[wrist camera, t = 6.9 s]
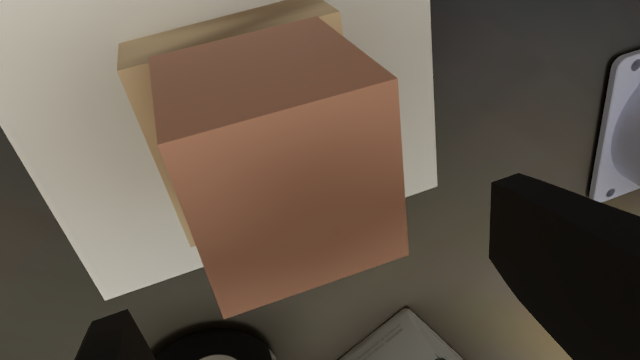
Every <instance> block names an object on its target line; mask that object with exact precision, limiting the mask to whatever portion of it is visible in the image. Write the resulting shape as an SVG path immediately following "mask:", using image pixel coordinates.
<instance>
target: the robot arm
mask: <svg viewBox="0 0 640 360" xmlns="http://www.w3.org/2000/svg"><path fill="white" fill-rule="evenodd" d="M639 188H640V50H636V51H633V52H630V53H627V54H624V55H621V56H619V57H618V58H617V59H616V60H615V61H614V62H613V64H612V66H611V71H610V77H609V82H608V88H607V94H606V100H605V106H604V111H603V117H602V123H601V129H600V135H599V141H598V146H597V152H596V158H595V164H594V170H593V175H592V181H591V187H590V193H589V198H587V197H584V196H582V195H579V194H576V193H574V192H571V191H568V190H566V189H563V188H560V187H557V186H555V185H552V184H549V183H546V182H544V181H541V180H538V179H535V178H532V177H529V176H526V175H523V174H519V173H518V174H515V175H512V176H509V177H506V178H503V179H500V180H497V181H495V182H492V183H491V213H490V242H489V259H490V260H491V262H492V263H493V264H494V266H495V267H496V269H497V270H498V272H499V273H500V275H501V276H502V278H503V279H504V281H505V282H506V283H507V285H508V286H509V288H510V289H511V290H512V292H513V293H514V294H515V296H516V297H517V299H518V300H519V301H520V302H521V303H522V304H523V305H524V306H525V308H526V309H527V310H528V311H529V312H530V313H531V314H532V315H533V317H534V318H535V319H536V320H537V321H538V322H539V323H540V324H541V325H542V326H543V328H544V329H545V330H546V331H547V332H548V333H549V334H550V335H551V336H552V337H553V338H554V340H555V341H556V342H557V343H558V344H559V345H560V346H561V347H562V348H563V349H564V350H565V352H566V353H567V354H568V355H569V356H570V357H571V358H572V359H573V360H640V217H639V216H637V215H634V214H631V213H628V212H625V211H623V210H620V209H617V208H614V207H611V206H609V205H606V204H603V203H602V202H604V201H607V200H610V199H612V198H615V197H618V196H620V195H623V194H626V193H629V192H631V191H634V190H637V189H639ZM75 360H156V358H155V356H154V355H153V353H152V351H151V349H150V348H149V346H148V344H147V342H146V341H145V339H144V337H143V335H142V334H141V332H140V330H139V328H138V327H137V325H136V323H135V321H134V319H133V318H132V316H131V314H130V312H129V311H128V309H127V310H124V311H121V312H118V313H115V314H112V315H109V316H107V317H104V318H101V319H98V320H95V321H92V323H91V325H90V326H89V328H88V330H87V333H86V335H85V337H84V339H83V341H82V344H81V346H80V348H79V351H78V353H77V355H76V357H75Z"/></svg>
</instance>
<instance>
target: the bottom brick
mask: <svg viewBox="0 0 640 360" xmlns="http://www.w3.org/2000/svg"><path fill="white" fill-rule="evenodd" d="M315 16H317V17H319V18H320V19H321V20H322V21H324V22H325V23H326V24H328V25H329V26H330V27H332V28H333V29H334V30H335V31H337V32H338V33H339V34H341V35H342V36H343V30H342V23H341V16H340V11H339V10H337V9H336V8H334V7H333V6H331V5H330V4H328V3H327V2H325V1H324V0H284V1H280V2H276V3H273V4H269V5H265V6H261V7H257V8H253V9H249V10H246V11H242V12H238V13H234V14H230V15H226V16H222V17H219V18H215V19H211V20H207V21H203V22H199V23H195V24H192V25H188V26H184V27H180V28H176V29H172V30H168V31H165V32H161V33H157V34H153V35H149V36H145V37H141V38H138V39H134V40H130V41H126V42H122V43H119V44H118V60H117V73H118V75H119V77H120V80H121V82H122V85H123V87H124V89H125V92H126V94H127V97H128V99H129V101H130V104H131V106H132V108H133V111H134V113H135V116H136V118H137V120H138V123H139V125H140V128H141V130H142V132H143V135H144V137H145V139H146V142H147V144H148V147H149V149H150V151H151V154H152V156H153V159H154V161H155V163H156V166H157V168H158V170H159V173H160V175H161V178H162V180H163V182H164V185H165V187H166V190H167V192H168V194H169V197H170V199H171V201H172V204H173V206H174V209H175V211H176V213H177V216H178V218H179V221H180V223H181V225H182V228H183V230H184V232H185V235H186V237H187V240H188V242H189V244H190V247H194V246H196V245H195V242H194V240H193V237H192V234H191V232H190V229H189V227H188V224H187V221H186V219H185V216H184V213H183V211H182V208H181V205H180V203H179V200H178V198H177V195H176V192H175V190H174V187H173V184H172V182H171V179H170V176H169V174H168V171H167V169H166V166H165V163H164V161H163V158H162V155H161V153H160V150H159V148H158V145H157V135H156V126H155V116H154V107H153V97H152V87H151V78H150V68H149V59H148V57H151V56H156V55H160V54H164V53H168V52H172V51H176V50H180V49H184V48H188V47H192V46H196V45H200V44H205V43H209V42H213V41H217V40H221V39H225V38H229V37H233V36H237V35H241V34H245V33H250V32H254V31H258V30H262V29H266V28H270V27H274V26H278V25H282V24H286V23H290V22H294V21H299V20H303V19H307V18H311V17H315Z"/></svg>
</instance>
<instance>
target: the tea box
mask: <svg viewBox="0 0 640 360" xmlns="http://www.w3.org/2000/svg"><path fill="white" fill-rule="evenodd" d="M339 360H463V359H462V358H461V357H460V356H459V355H458V354H457V353H456V352H455V351H454V350H453V349H452V348H451V347H449V346H448V345H447V344H446V343H445V342H444V341H443V340H442V339H441V338H440V337H439V336H438V335H437V334H436V333H435V332H434V331H433V330H432V329H431V328H430V327H428V326H427V325H426V324H425V323H424V322H423V321H422V320H421V319H419V318H418V317H417V316H416V315H415V314H414V313H413V312H412V311H411V310H410V309H406V308H404V309H402V310H401V311H400V312H398V313H397V314H396V315H395V316H393V317H392V318H391V319H389V320H388V321H387V322H386V323H384V324H383V325H382V326H380V327H379V328H378V329H377V330H375V331H374V332H373V333H372V334H370V335H369V336H368V337H366V338H365V339H364V340H363V341H361V342H360V343H359V344H358V345H356V346H355V347H354V348H353V349H352V350H350V351H349V352H348V353H347V354H345V355H344V356H343V357H342V358H340V359H339Z"/></svg>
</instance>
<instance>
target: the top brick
mask: <svg viewBox="0 0 640 360" xmlns="http://www.w3.org/2000/svg"><path fill="white" fill-rule="evenodd" d="M148 59H149V68H150V78H151V87H152V97H153V107H154V116H155V126H156V135H157V145H158V148H159V150H160V153H161V155H162V158H163V161H164V163H165V166H166V169H167V171H168V174H169V176H170V179H171V182H172V184H173V187H174V190H175V192H176V195H177V198H178V200H179V203H180V205H181V208H182V211H183V213H184V216H185V219H186V221H187V224H188V227H189V229H190V232H191V234H192V237H193V240H194V242H195V245H196V248H197V250H198V253H199V255H200V258H201V261H202V263H203V266H204V269H205V271H206V274H207V277H208V279H209V282H210V284H211V287H212V290H213V292H214V295H215V298H216V300H217V303H218V306H219V308H220V311H221V313H222V316H223V319H227V318H229V317H232V316H235V315H238V314H241V313H244V312H247V311H250V310H252V309H255V308H258V307H261V306H264V305H267V304H270V303H273V302H275V301H278V300H281V299H284V298H287V297H290V296H293V295H295V294H298V293H301V292H304V291H307V290H310V289H313V288H316V287H318V286H321V285H324V284H327V283H330V282H333V281H336V280H339V279H341V278H344V277H347V276H350V275H353V274H356V273H359V272H362V271H364V270H367V269H370V268H373V267H376V266H379V265H382V264H384V263H387V262H390V261H393V260H396V259H399V258H402V257H405V256H407V255H409V249H408V233H407V217H406V202H405V186H404V170H403V154H402V138H401V122H400V106H399V90H398V78H397V77H395V76H394V75H393V74H391V73H390V72H389V71H388V70H386V69H385V68H384V67H382V66H381V65H380V64H378V63H377V62H376V61H375V60H373V59H372V58H371V57H369V56H368V55H367V54H365V53H364V52H363V51H362V50H360V49H359V48H358V47H356V46H355V45H354V44H352V43H351V42H350V41H349V40H347V39H346V38H345V37H343V36H342V35H341V34H339V33H338V32H337V31H335V30H334V29H333V28H332V27H330V26H329V25H328V24H326V23H325V22H324V21H322V20H321V19H320V18H319V17H317V16H315V17H311V18H307V19H303V20H299V21H294V22H290V23H286V24H282V25H278V26H274V27H270V28H266V29H262V30H258V31H254V32H250V33H245V34H241V35H237V36H233V37H229V38H225V39H221V40H217V41H213V42H209V43H205V44H200V45H196V46H192V47H188V48H184V49H180V50H176V51H172V52H168V53H164V54H160V55H156V56H151V57H148Z"/></svg>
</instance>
